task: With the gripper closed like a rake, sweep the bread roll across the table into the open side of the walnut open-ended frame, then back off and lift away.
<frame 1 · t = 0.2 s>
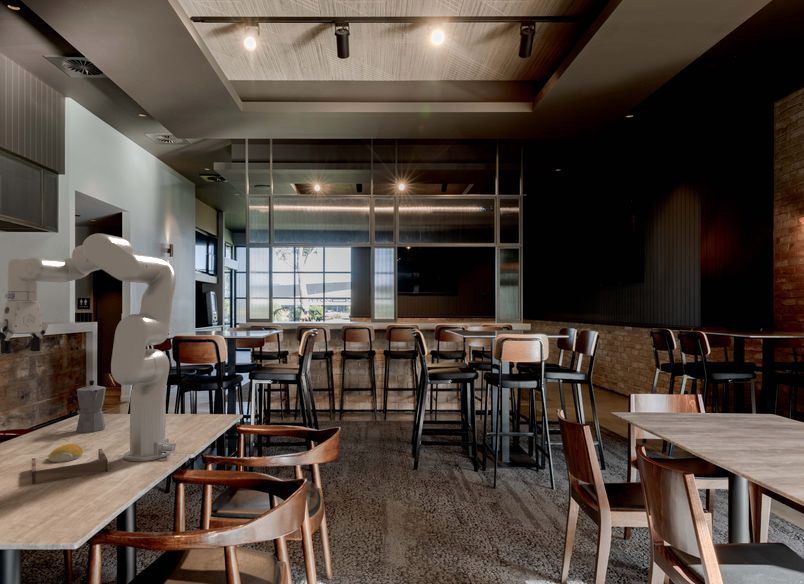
hand: (21, 352, 161), 30 cm above the table, tool pointing down, fingers open, 9 cm apart
bread roll: (66, 459, 151), on the table
walnut open-ended frame: (69, 470, 139), on the table
coffeepot: (90, 430, 188), on the table
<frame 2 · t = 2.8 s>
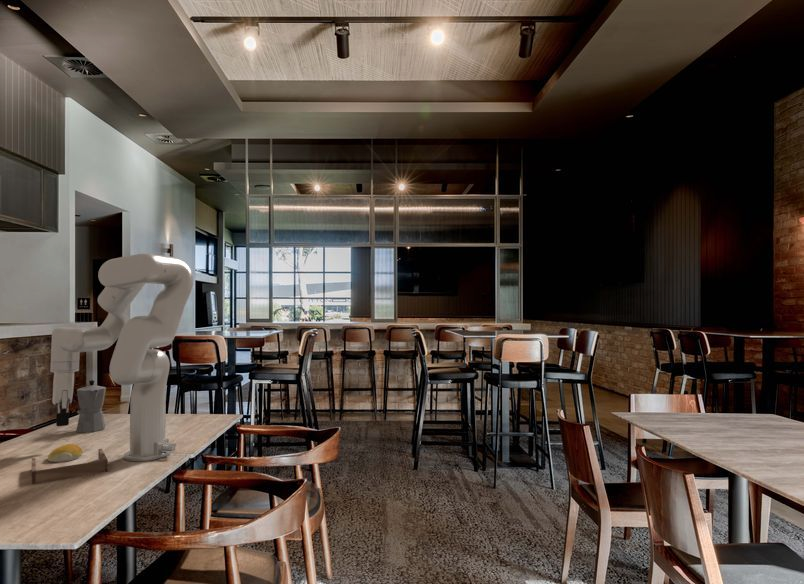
hand: (62, 425, 161), 8 cm above the table, tool pointing down, fingers closed
nothing on the table moved.
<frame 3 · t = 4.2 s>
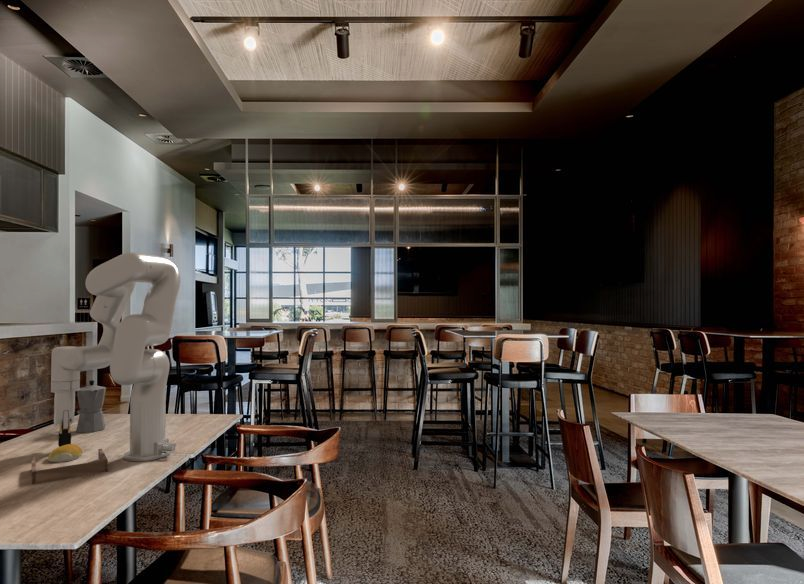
hand: (64, 445, 159), 2 cm above the table, tool pointing down, fingers closed
nothing on the table moved.
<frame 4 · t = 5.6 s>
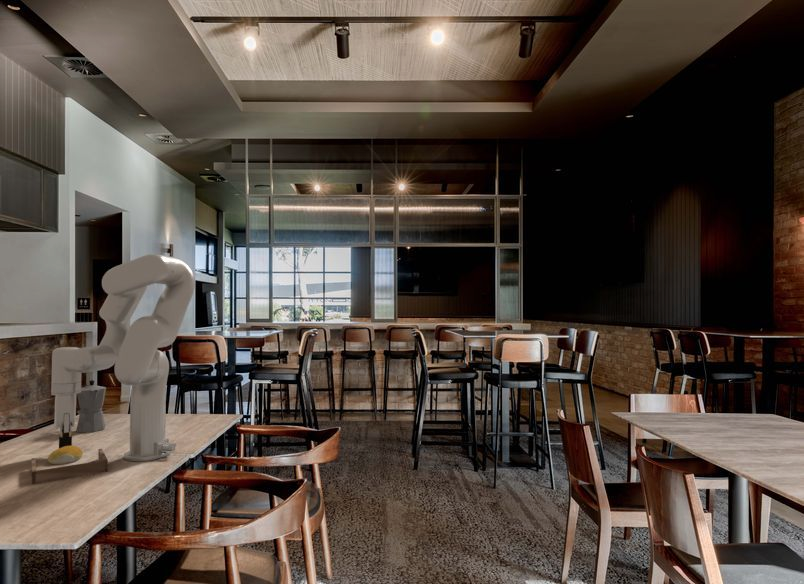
hand: (65, 449, 154), 2 cm above the table, tool pointing down, fingers closed
bread roll: (65, 461, 149), on the table, touching gripper
everything else where it was.
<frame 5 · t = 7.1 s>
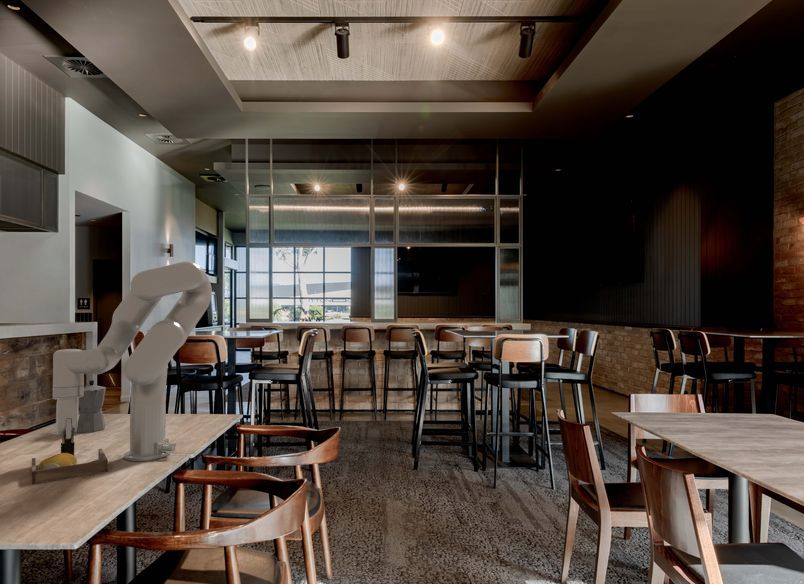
hand: (67, 456, 147), 2 cm above the table, tool pointing down, fingers closed
bread roll: (57, 469, 141), on the table, touching gripper
everything else where it was.
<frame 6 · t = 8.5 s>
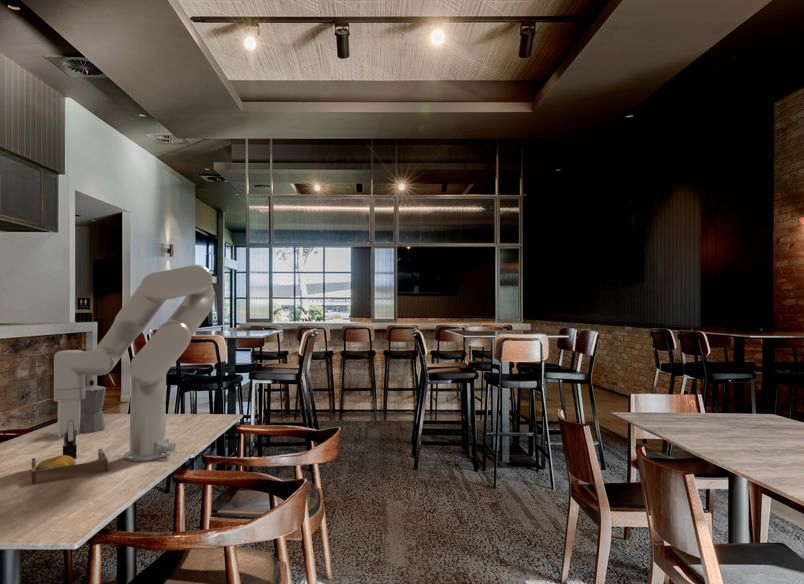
hand: (69, 459, 145), 1 cm above the table, tool pointing down, fingers closed
bread roll: (56, 472, 139), on the table, touching gripper, walnut open-ended frame
everything else where it was.
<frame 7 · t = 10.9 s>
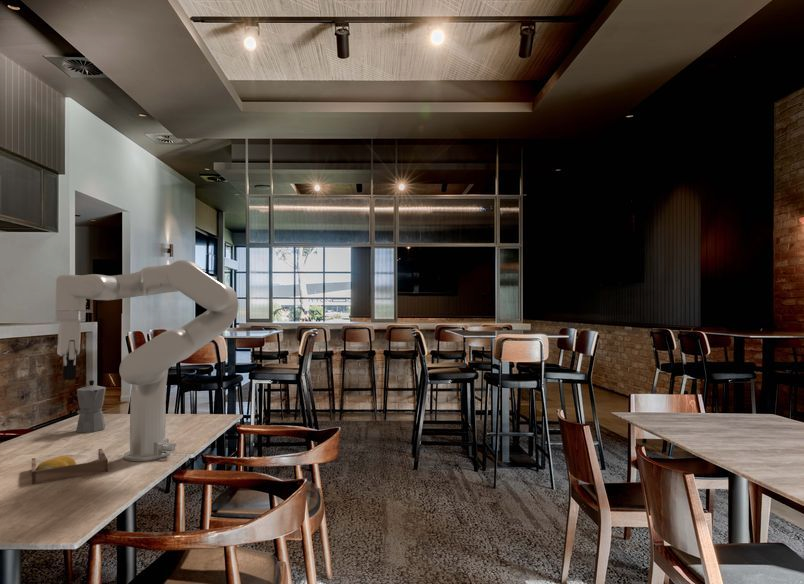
hand: (69, 379, 151), 23 cm above the table, tool pointing down, fingers closed
bread roll: (56, 473, 139), on the table
everything else where it was.
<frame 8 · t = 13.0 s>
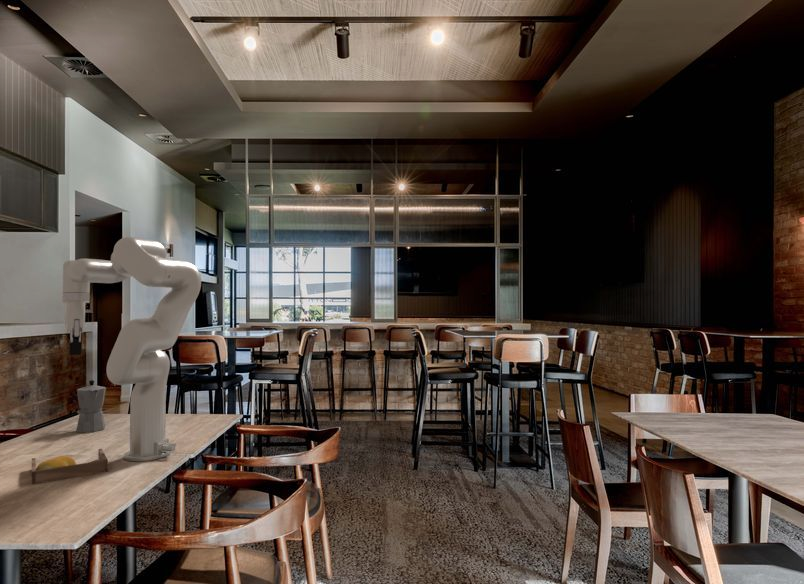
hand: (75, 354, 167), 29 cm above the table, tool pointing down, fingers closed
nothing on the table moved.
at the end: bread roll inside the target area on the walnut open-ended frame (3.1 cm from its centre), point -0.5 cm above the walnut open-ended frame's base; bread roll moved 14.1 cm from its start; the gripper is holding nothing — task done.
